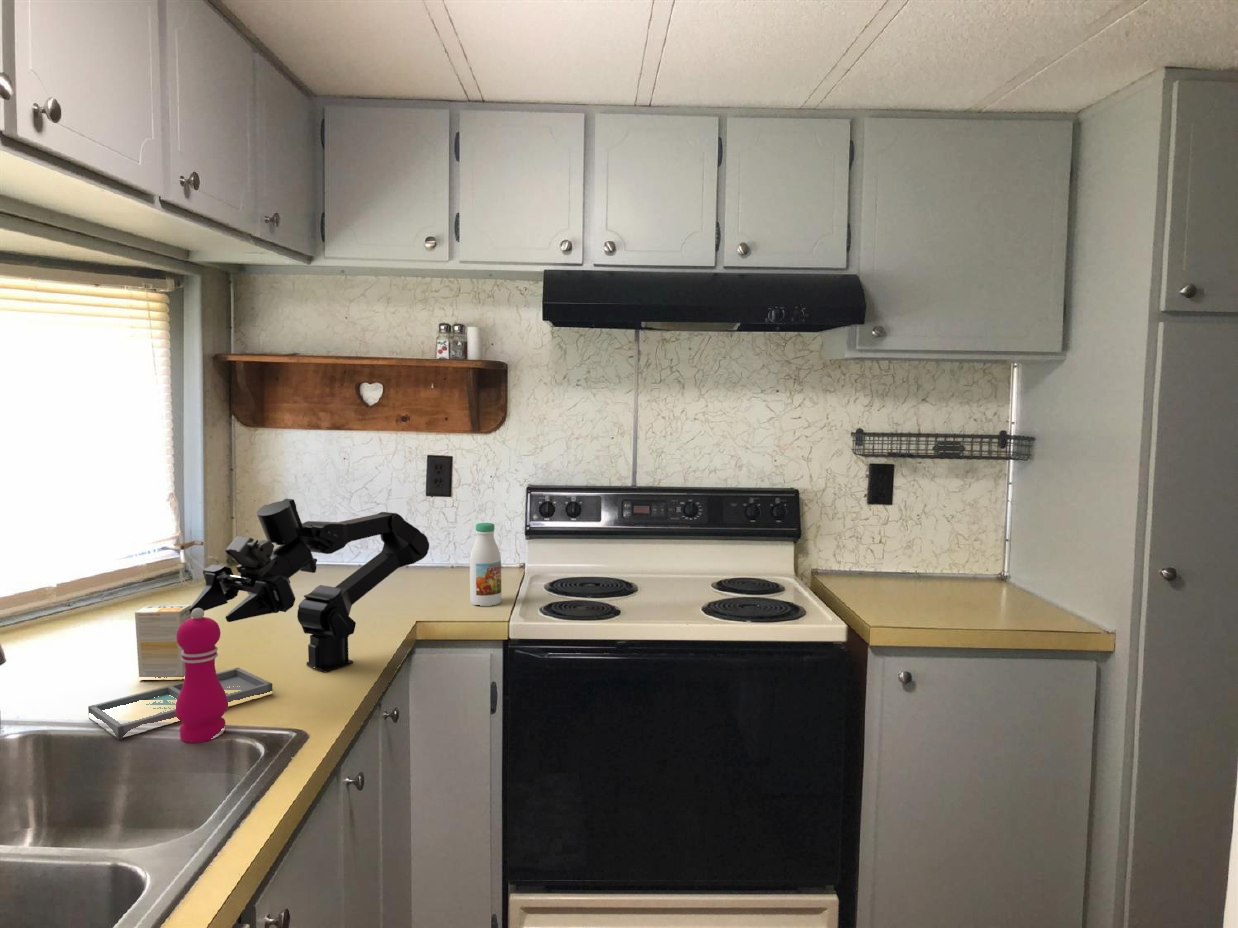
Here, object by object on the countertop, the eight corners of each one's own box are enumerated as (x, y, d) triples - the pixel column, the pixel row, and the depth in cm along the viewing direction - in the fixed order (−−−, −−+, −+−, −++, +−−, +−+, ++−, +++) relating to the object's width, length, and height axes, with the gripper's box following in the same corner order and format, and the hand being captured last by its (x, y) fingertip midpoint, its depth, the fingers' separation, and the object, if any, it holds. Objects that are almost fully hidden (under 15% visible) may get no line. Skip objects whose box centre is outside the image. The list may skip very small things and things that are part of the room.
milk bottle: (465, 606, 202) (464, 525, 200) (477, 598, 210) (476, 520, 208) (494, 608, 200) (493, 527, 198) (506, 600, 208) (505, 522, 206)
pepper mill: (238, 726, 130) (233, 602, 129) (211, 745, 123) (205, 615, 121) (195, 724, 131) (189, 601, 129) (166, 743, 124) (159, 613, 122)
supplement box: (196, 672, 155) (193, 604, 154) (183, 681, 150) (180, 611, 149) (151, 672, 155) (148, 604, 153) (137, 681, 150) (133, 611, 149)
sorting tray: (238, 678, 152) (238, 667, 152) (272, 694, 144) (272, 683, 144) (88, 718, 133) (88, 706, 133) (118, 740, 125) (117, 727, 125)
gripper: (229, 521, 148) (153, 568, 136) (302, 530, 140) (228, 581, 128) (250, 573, 153) (179, 623, 141) (322, 585, 144) (253, 639, 132)
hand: (208, 615), depth 135 cm, fingers open, 9 cm apart
